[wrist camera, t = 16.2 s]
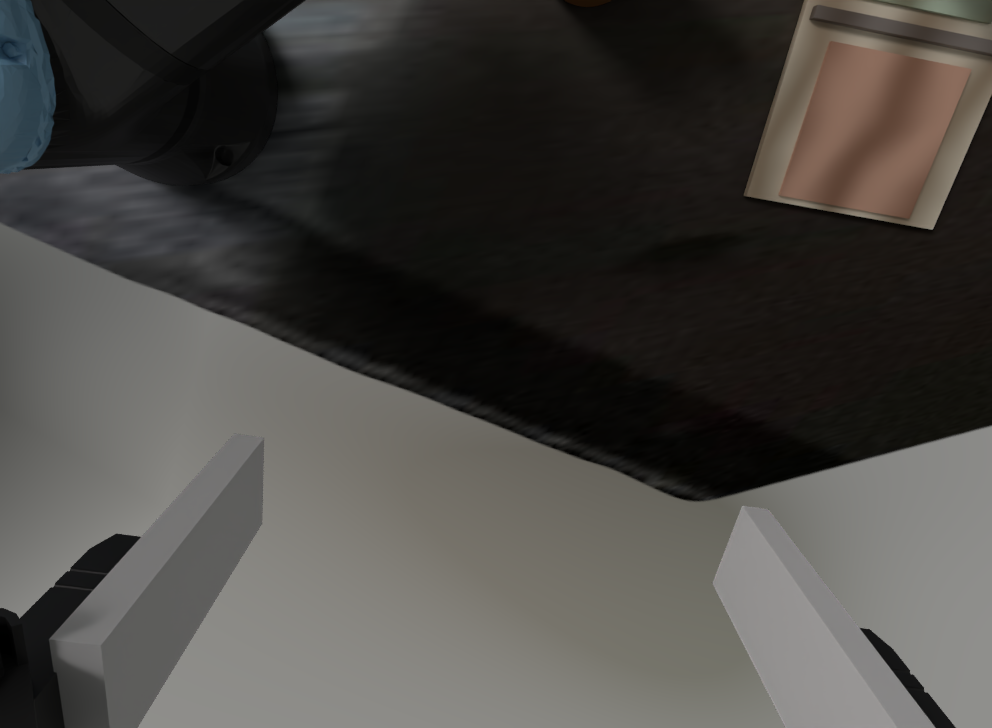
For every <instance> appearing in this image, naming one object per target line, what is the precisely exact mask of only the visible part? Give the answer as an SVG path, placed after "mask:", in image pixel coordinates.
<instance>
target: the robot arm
mask: <svg viewBox="0 0 992 728" xmlns="http://www.w3.org/2000/svg"><path fill="white" fill-rule="evenodd" d="M304 1H305V0H0V173H3V174H10V173H11V172H19V171H21V170H27V169H45V168H64V167H82V166H100V165H117V166H119V167H121V168H123V169H125V170H127V171H129V172H131V173H133V174H135V175H137V176H140V177H142V178H145V179H147V180H151V181H154V182H158V183H163V184H168V185H178V186H190V185H200V184H208V183H213V182H217V181H221V180H224V179H226V178H229V177H231V176H233V175H235V174H236V173H238V172H240V171H241V170H243V169H244V168H245V167H246V166H248V165H249V164H250V163H251V162H252V161H253V160H254V159H255V158H256V157H257V155H258V154H259V153H260V151H261V150H262V149H263V147H264V145H265V144H266V142H267V140H268V138H269V136H270V133H271V130H272V128H273V124H274V121H275V116H276V110H277V99H278V89H277V78H276V72H275V67H274V63H273V59H272V56H271V53H270V50H269V47H268V45H267V42H266V40H265V38H264V36H263V34H262V32H263V31H265V30H266V29H267V28H269V27H270V26H271V25H273V24H274V23H275V22H277V21H278V20H279V19H281V18H282V17H284V16H285V15H286V14H288V13H289V12H290V11H292V10H293V9H294V8H296V7H297V6H299V5H300V4H301V3H303V2H304ZM263 463H264V438H263V437H256V436H249V435H242V434H234V435H233V436H232V437H231V438H230V439H229V440H228V441H227V442H226V443H225V445H224V446H223V447H222V448H221V449H220V450H219V451H218V452H217V454H216V455H215V456H214V457H213V458H212V459H211V460H210V461H209V462H208V463H207V465H206V466H205V467H204V468H203V469H202V470H201V471H200V473H198V475H197V476H196V477H195V478H194V479H193V480H192V481H191V482H190V483H189V485H188V486H187V487H186V488H185V489H184V490H183V491H182V492H181V494H180V495H179V496H178V497H177V498H176V499H175V500H174V501H173V502H172V503H171V505H170V506H169V507H168V508H167V509H166V510H165V511H164V512H163V513H162V515H161V516H160V517H159V518H158V519H157V520H156V521H155V522H154V523H153V525H152V526H151V527H150V528H149V529H148V530H147V531H146V532H145V533H144V534H143V536H142V537H137V536H130V535H122V534H115V535H113V536H111V537H110V538H108V539H106V540H104V541H103V542H101V543H99V544H97V545H95V546H94V547H92V548H90V549H89V550H88V551H87V552H86V553H85V554H84V555H83V556H82V557H81V558H80V559H79V560H78V561H77V562H76V563H75V564H74V565H73V566H72V567H71V569H70V571H69V572H68V571H67V572H66V573H65V574H64V575H63V576H62V577H61V578H60V579H59V580H58V581H57V582H56V583H55V586H54V587H53V588H50V589H49V590H48V591H47V592H46V593H45V594H44V595H43V596H42V597H41V598H40V599H39V600H38V601H37V602H36V603H35V604H34V605H33V606H32V607H31V608H30V609H29V610H28V611H27V612H26V613H25V614H24V615H23V616H22V617H21V618H20V619H19V617H18V616H17V614H16V613H13V612H11V611H9V610H6V609H4V608H0V728H137V727H138V726H139V724H140V722H141V721H142V719H143V718H144V716H145V714H146V713H147V711H148V710H149V708H150V706H151V705H152V703H153V701H154V700H155V698H156V696H157V695H158V693H159V692H160V690H161V688H162V687H163V685H164V683H165V682H166V680H167V678H168V677H169V675H170V674H171V672H172V670H173V669H174V667H175V665H176V664H177V662H178V660H179V659H180V657H181V655H182V654H183V652H184V651H185V649H186V647H187V646H188V644H189V642H190V641H191V639H192V638H193V636H194V634H195V633H196V631H197V629H198V628H199V626H200V624H201V623H202V621H203V619H204V618H205V616H206V615H207V613H208V611H209V610H210V608H211V606H212V605H213V603H214V602H215V600H216V598H217V597H218V595H219V593H220V592H221V590H222V588H223V587H224V585H225V584H226V582H227V580H228V579H229V577H230V575H231V574H232V572H233V570H234V569H235V567H236V566H237V564H238V562H239V561H240V559H241V557H242V556H243V554H244V553H245V551H246V549H247V548H248V546H249V544H250V543H251V541H252V539H253V538H254V536H255V535H256V533H257V531H258V530H259V528H260V526H261V524H262V505H263V504H262V503H263ZM713 585H714V587H715V589H716V591H717V593H718V595H719V597H720V599H721V601H722V603H723V605H724V607H725V609H726V611H727V613H728V615H729V617H730V619H731V621H732V623H733V625H734V627H735V629H736V631H737V633H738V634H739V637H740V639H741V641H742V643H743V645H744V647H745V649H746V651H747V653H748V655H749V657H750V658H751V660H752V662H753V664H754V666H755V668H756V670H757V672H758V674H759V676H760V678H761V680H762V682H763V684H764V686H765V688H766V690H767V692H768V694H769V696H770V698H771V700H772V702H773V704H774V706H775V708H776V710H777V712H778V714H779V716H780V718H781V720H782V722H783V724H784V726H785V728H955V727H954V725H953V724H952V722H951V721H950V720H949V719H948V717H947V716H946V715H945V714H944V712H943V711H942V710H941V709H940V707H939V706H938V705H937V704H936V702H935V701H934V700H933V699H932V697H931V696H930V695H929V694H928V693H925V692H924V687H923V686H922V685H921V684H920V682H919V681H918V680H917V679H916V677H915V676H914V675H911V674H910V670H909V669H908V668H907V666H906V665H905V664H904V663H903V661H902V660H901V659H900V658H899V656H898V655H897V654H896V653H895V652H894V650H893V649H892V648H891V647H890V646H889V645H887V644H886V643H885V642H884V641H883V640H881V639H880V638H879V637H878V636H877V635H876V634H874V633H873V632H872V631H871V630H870V629H863V628H859V627H858V626H857V624H856V623H855V622H854V620H853V619H852V618H851V616H850V615H849V614H848V613H847V611H846V610H845V609H844V607H843V606H842V605H841V603H840V602H839V601H838V599H837V598H836V597H835V596H834V594H833V593H832V592H831V590H830V589H829V588H828V586H827V585H826V584H825V582H824V581H823V580H822V579H821V577H820V576H819V575H818V573H817V572H816V571H815V570H814V568H813V567H812V565H811V564H810V563H809V562H808V560H807V559H806V558H805V556H804V555H803V554H802V552H801V551H800V550H799V549H798V547H797V546H796V545H795V543H794V542H793V541H792V539H791V538H790V537H789V536H788V534H787V533H786V531H785V530H784V529H783V528H782V527H781V525H780V524H779V523H778V521H777V520H776V518H775V517H774V516H773V514H772V513H771V512H770V511H769V509H763V508H756V507H749V506H742V508H741V510H740V513H739V515H738V518H737V521H736V523H735V526H734V528H733V531H732V534H731V536H730V539H729V541H728V544H727V547H726V549H725V552H724V555H723V557H722V560H721V563H720V565H719V568H718V570H717V573H716V575H715V578H714V581H713Z"/></svg>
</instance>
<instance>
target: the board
mask: <svg viewBox="0 0 992 728" xmlns="http://www.w3.org/2000/svg"><path fill="white" fill-rule="evenodd" d="M991 95H992V0H804V3H803V6H802V10H801V13H800V16H799V19H798V22H797V26H796V29H795V32H794V35H793V38H792V42H791V45H790V48H789V51H788V55H787V58H786V61H785V64H784V67H783V71H782V74H781V77H780V80H779V83H778V87H777V90H776V93H775V96H774V99H773V103H772V106H771V109H770V112H769V115H768V119H767V122H766V125H765V128H764V131H763V135H762V138H761V141H760V144H759V147H758V151H757V154H756V157H755V160H754V163H753V167H752V170H751V173H750V176H749V180H748V183H747V186H746V189H745V192H744V196H748V197H753V198H759V199H764V200H770V201H775V202H781V203H787V204H792V205H798V206H803V207H809V208H814V209H820V210H825V211H831V212H837V213H842V214H848V215H853V216H859V217H864V218H870V219H875V220H881V221H887V222H892V223H898V224H903V225H909V226H914V227H920V228H926V229H931V230H933V228H934V226H935V223H936V221H937V219H938V216H939V214H940V212H941V210H942V207H943V205H944V203H945V200H946V198H947V196H948V194H949V191H950V189H951V187H952V184H953V182H954V180H955V177H956V175H957V173H958V171H959V168H960V166H961V164H962V161H963V159H964V157H965V155H966V152H967V150H968V148H969V145H970V143H971V141H972V139H973V136H974V134H975V132H976V129H977V127H978V125H979V122H980V120H981V118H982V116H983V113H984V111H985V109H986V106H987V104H988V102H989V100H990V97H991Z"/></svg>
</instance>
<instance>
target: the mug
mask: <svg viewBox="0 0 992 728" xmlns="http://www.w3.org/2000/svg"><path fill="white" fill-rule="evenodd" d="M564 1H566V2H568V3H570V4H573V5H576V6H581V7H594V6H599V5H602V4H605V3H607V2H610V1H612V0H564Z"/></svg>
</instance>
